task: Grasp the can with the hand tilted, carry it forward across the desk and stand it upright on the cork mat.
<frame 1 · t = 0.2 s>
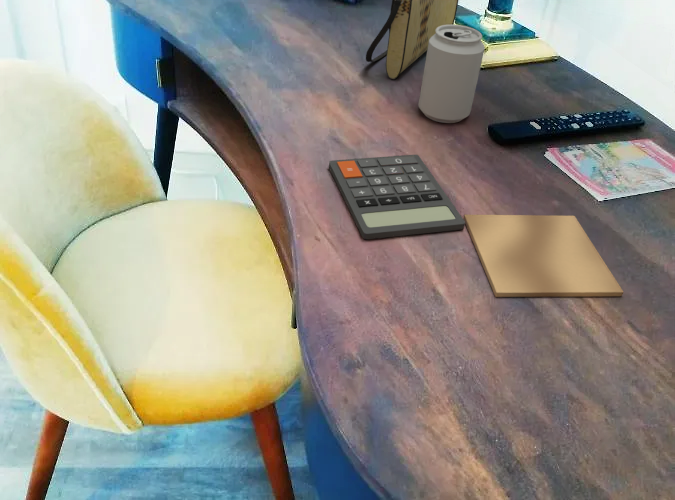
can: (443, 114, 93), on the table
clutch purse: (408, 53, 111), on the table
calculator: (392, 197, 75), on the table
cork mat: (537, 255, 68), on the table
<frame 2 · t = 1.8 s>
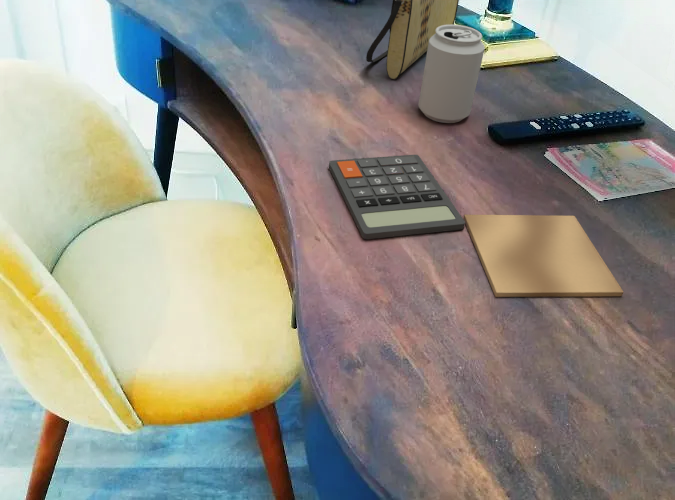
nothing on the table moved.
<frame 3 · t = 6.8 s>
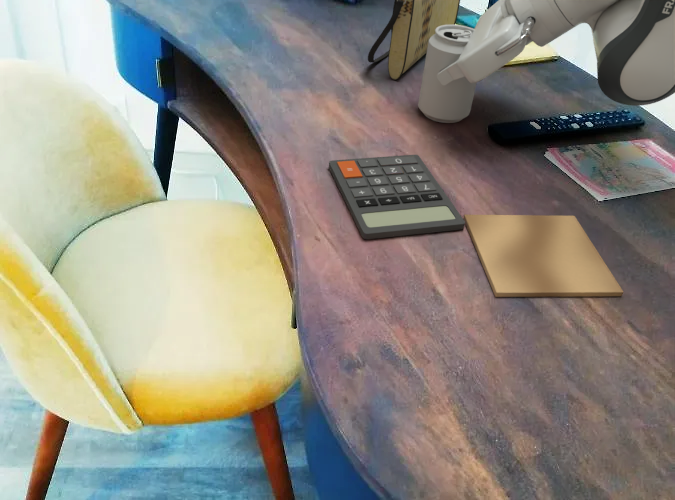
hand: (446, 67, 89), 7 cm above the table, tool tilted 45°, fingers closed on can, 7 cm apart
can: (442, 114, 93), on the table, touching gripper
everything else where it was.
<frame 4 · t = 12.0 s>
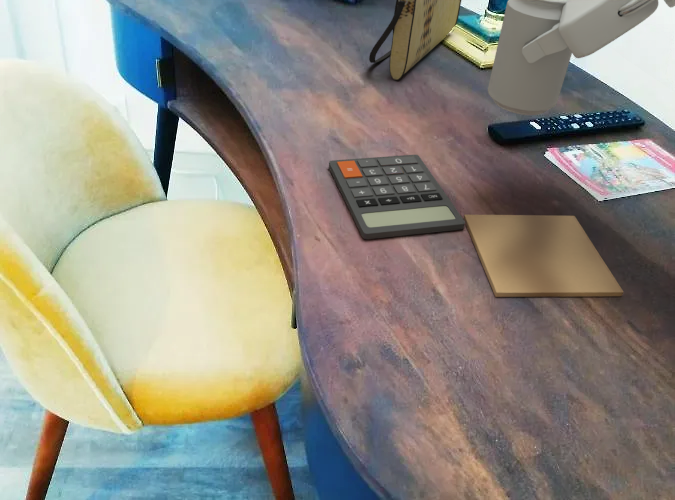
hand: (529, 40, 66), 18 cm above the table, tool tilted 45°, fingers closed on can, 7 cm apart
can: (519, 104, 71), point 11 cm above the table, touching gripper
everything else where it was.
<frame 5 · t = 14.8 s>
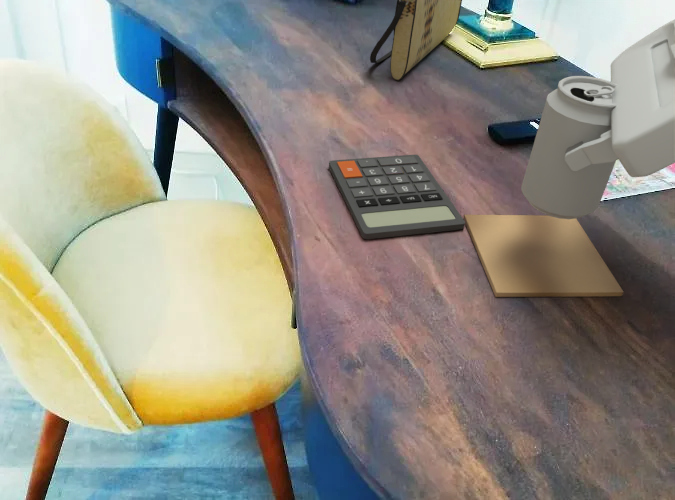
hand: (570, 139, 60), 14 cm above the table, tool tilted 45°, fingers closed on can, 7 cm apart
can: (556, 203, 64), point 7 cm above the table, touching gripper
everything else where it was.
when the fingers open (7 cm above the table, at t = 17.2 s): can stays where it is, resting on cork mat.
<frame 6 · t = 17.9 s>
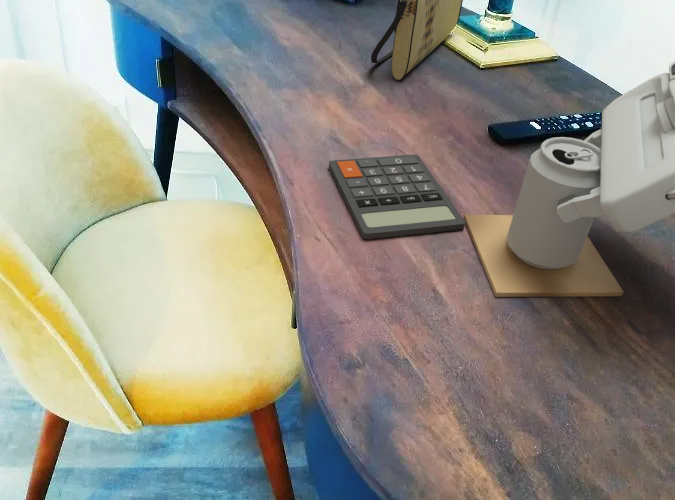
hand: (562, 187, 63), 8 cm above the table, tool tilted 45°, fingers open, 8 cm apart
can: (539, 253, 68), resting on cork mat
everything else where it was.
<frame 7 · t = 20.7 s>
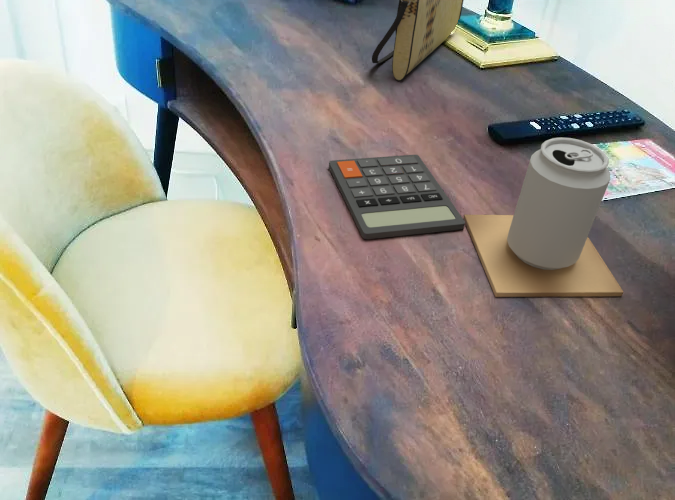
nothing on the table moved.
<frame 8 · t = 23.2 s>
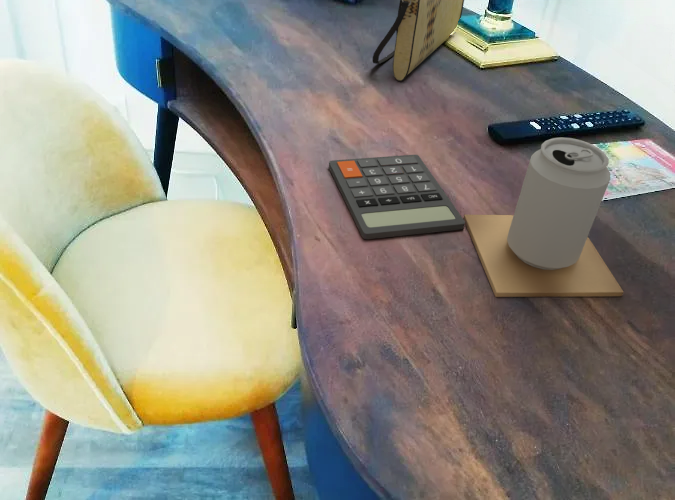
at the end: can inside the target area on the cork mat (0.2 cm from its centre), point 0.4 cm above the cork mat's base; can tilted 0°; the gripper is holding nothing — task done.
